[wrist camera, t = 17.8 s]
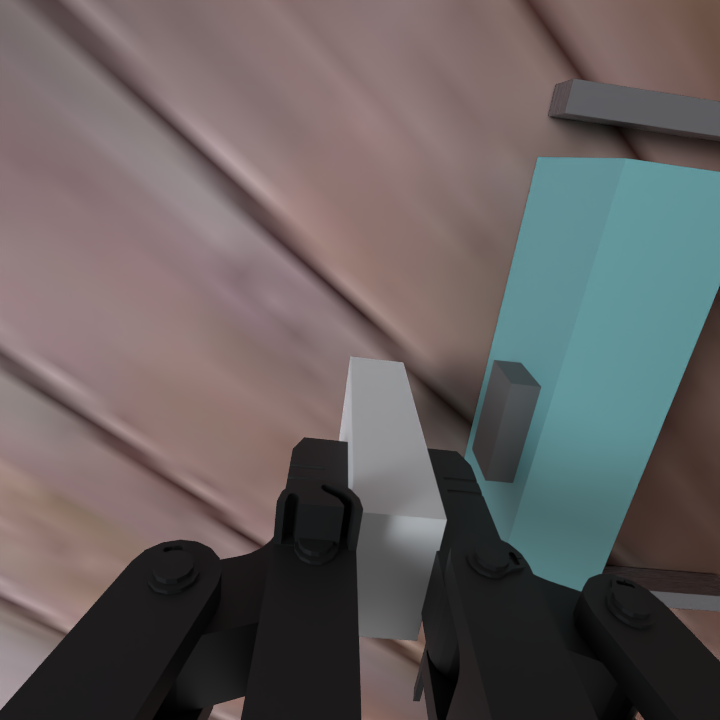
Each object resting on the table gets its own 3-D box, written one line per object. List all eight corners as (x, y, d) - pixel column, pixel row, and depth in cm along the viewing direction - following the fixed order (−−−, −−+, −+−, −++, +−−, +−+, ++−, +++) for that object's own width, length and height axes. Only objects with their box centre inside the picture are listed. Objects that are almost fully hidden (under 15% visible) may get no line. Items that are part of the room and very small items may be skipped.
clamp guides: (555, 84, 14) (573, 78, 13) (942, 144, 15) (990, 143, 14) (437, 566, 21) (442, 590, 20) (709, 588, 22) (728, 612, 20)
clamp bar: (511, 153, 15) (587, 152, 10) (634, 170, 15) (763, 178, 10) (426, 529, 20) (451, 642, 15) (518, 537, 20) (570, 650, 16)
